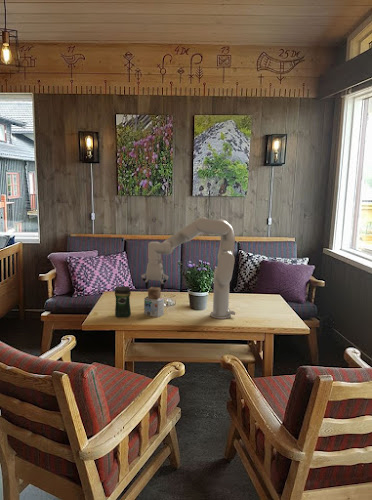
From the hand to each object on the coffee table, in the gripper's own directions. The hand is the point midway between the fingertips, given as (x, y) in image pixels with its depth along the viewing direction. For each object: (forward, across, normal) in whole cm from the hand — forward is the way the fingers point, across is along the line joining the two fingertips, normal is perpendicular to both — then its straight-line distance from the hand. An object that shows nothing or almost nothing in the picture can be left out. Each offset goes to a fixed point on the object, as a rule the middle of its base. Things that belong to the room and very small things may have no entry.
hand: (154, 289), depth 250 cm
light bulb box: (+16, +1, 0) cm, 17 cm away
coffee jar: (+16, +18, +9) cm, 26 cm away
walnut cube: (+6, 0, 0) cm, 6 cm away
